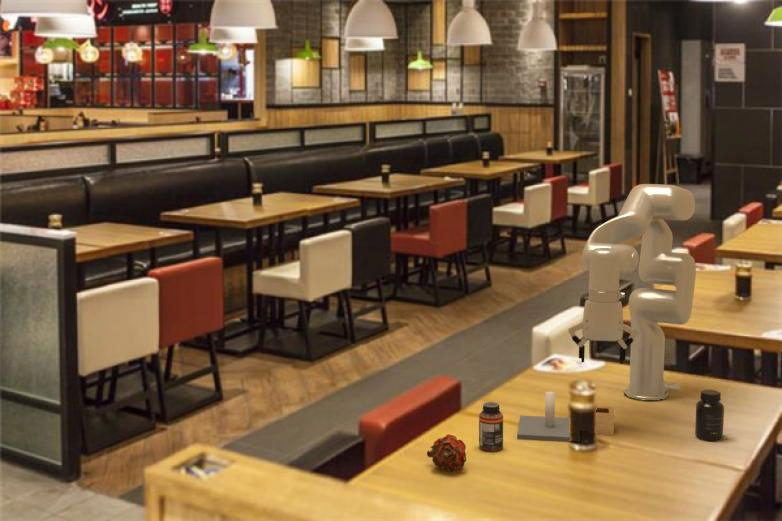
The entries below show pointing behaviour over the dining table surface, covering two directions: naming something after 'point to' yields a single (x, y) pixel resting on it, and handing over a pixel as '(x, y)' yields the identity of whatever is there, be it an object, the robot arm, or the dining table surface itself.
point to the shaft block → (544, 424)
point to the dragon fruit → (448, 453)
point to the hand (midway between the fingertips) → (601, 361)
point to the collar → (605, 421)
